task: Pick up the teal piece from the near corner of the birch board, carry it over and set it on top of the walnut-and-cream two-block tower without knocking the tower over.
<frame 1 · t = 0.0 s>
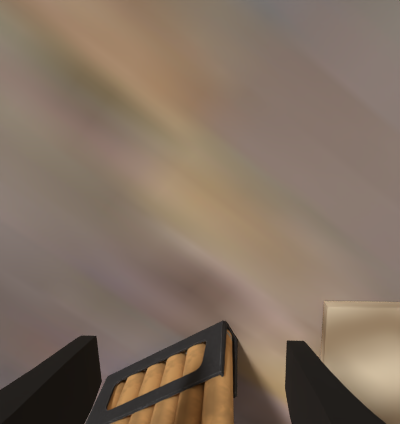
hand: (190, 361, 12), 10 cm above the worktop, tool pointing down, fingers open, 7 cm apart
ammunition clip: (170, 357, 24), on the worktop
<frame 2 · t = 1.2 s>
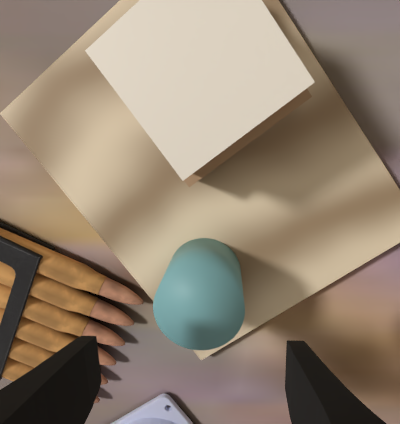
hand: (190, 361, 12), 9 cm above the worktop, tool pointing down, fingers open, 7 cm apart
tower top: (203, 81, 14), point 4 cm above the worktop, touching tower base
birch board: (209, 168, 19), on the worktop
tower base: (207, 91, 17), point 1 cm above the worktop, touching birch board, tower top
teal piece: (204, 272, 20), point 1 cm above the worktop, touching birch board
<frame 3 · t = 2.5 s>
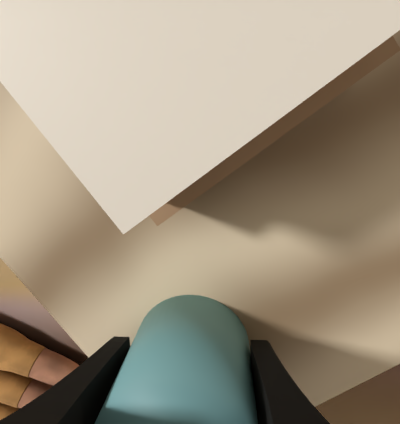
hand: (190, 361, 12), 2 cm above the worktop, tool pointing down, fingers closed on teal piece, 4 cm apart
tower top: (181, 21, 7), point 4 cm above the worktop, touching tower base
birch board: (199, 184, 12), on the worktop
tower base: (194, 55, 10), point 1 cm above the worktop, touching birch board, tower top
teal piece: (192, 345, 12), point 1 cm above the worktop, touching birch board, gripper
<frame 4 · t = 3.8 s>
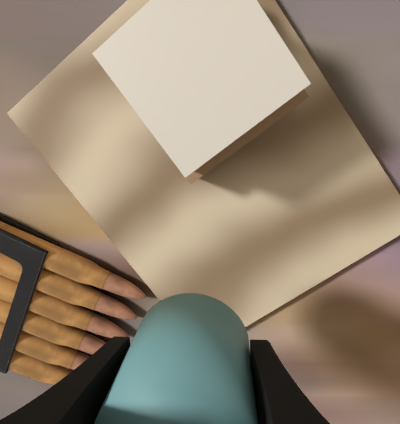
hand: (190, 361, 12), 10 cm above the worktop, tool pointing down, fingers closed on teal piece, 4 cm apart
tower top: (204, 82, 15), point 4 cm above the worktop, touching tower base
birch board: (210, 166, 19), on the worktop
tower base: (208, 91, 18), point 1 cm above the worktop, touching birch board, tower top
teal piece: (192, 344, 13), point 9 cm above the worktop, touching gripper
when the fingers open (8 cm above the worktop, at t = 5.5 s): teal piece stays where it is, resting on tower top.
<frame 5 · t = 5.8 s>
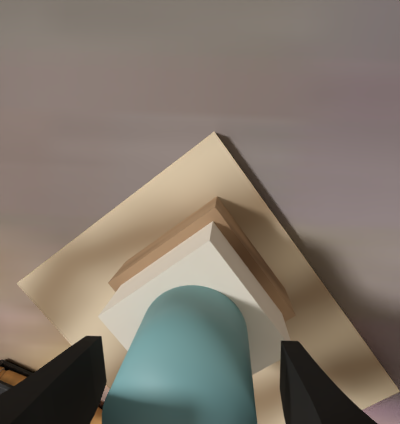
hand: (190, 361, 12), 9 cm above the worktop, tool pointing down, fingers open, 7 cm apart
tower top: (200, 299, 16), point 4 cm above the worktop, touching teal piece, tower base
birch board: (206, 329, 21), on the worktop
tower base: (204, 274, 19), point 1 cm above the worktop, touching birch board, tower top
teal piece: (194, 333, 13), point 7 cm above the worktop, touching tower top
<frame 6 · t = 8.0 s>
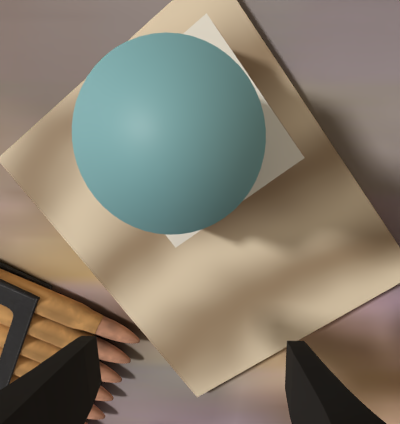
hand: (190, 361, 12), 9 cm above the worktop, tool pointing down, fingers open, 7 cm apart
tower top: (197, 140, 14), point 4 cm above the worktop, touching teal piece, tower base
birch board: (204, 212, 19), on the worktop
teal piece: (189, 140, 11), point 7 cm above the worktop, touching tower top
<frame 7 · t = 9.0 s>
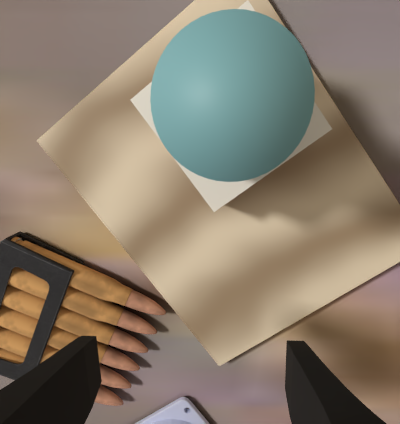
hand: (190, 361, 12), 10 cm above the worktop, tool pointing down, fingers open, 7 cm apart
tower top: (229, 119, 16), point 4 cm above the worktop, touching teal piece, tower base
birch board: (228, 190, 20), on the worktop
teal piece: (229, 114, 13), point 7 cm above the worktop, touching tower top
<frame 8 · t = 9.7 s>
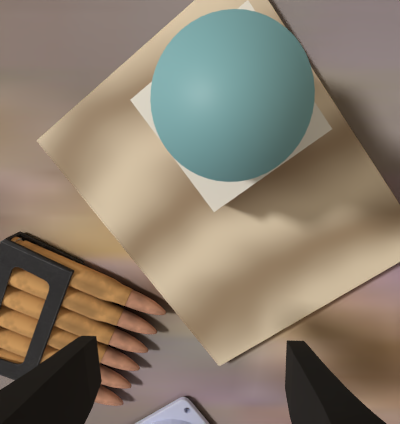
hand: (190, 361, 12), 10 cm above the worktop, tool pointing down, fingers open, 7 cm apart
tower top: (229, 119, 16), point 4 cm above the worktop, touching teal piece, tower base
birch board: (228, 190, 20), on the worktop
teal piece: (229, 114, 13), point 7 cm above the worktop, touching tower top
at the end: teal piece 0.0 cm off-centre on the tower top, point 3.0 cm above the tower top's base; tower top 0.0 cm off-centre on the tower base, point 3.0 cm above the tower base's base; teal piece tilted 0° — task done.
